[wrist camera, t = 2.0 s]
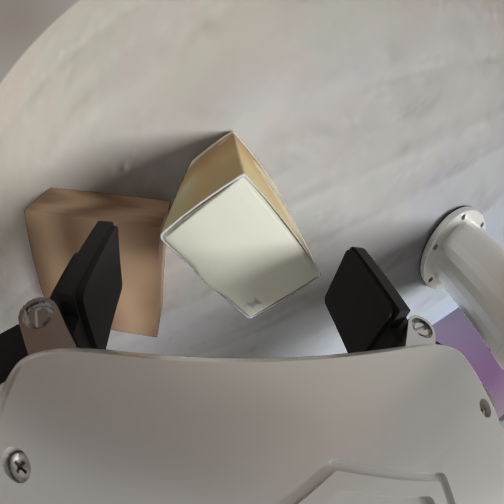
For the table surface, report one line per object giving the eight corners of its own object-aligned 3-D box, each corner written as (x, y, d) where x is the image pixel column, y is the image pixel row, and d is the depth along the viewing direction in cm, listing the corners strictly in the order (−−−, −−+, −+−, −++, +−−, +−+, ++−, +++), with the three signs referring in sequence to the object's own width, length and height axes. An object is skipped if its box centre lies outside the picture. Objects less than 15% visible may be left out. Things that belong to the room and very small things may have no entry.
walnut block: (170, 199, 22) (160, 228, 18) (162, 301, 28) (157, 337, 24) (52, 186, 19) (24, 210, 15) (66, 285, 26) (50, 316, 22)
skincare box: (277, 186, 22) (328, 280, 12) (235, 215, 23) (252, 325, 13) (230, 125, 19) (246, 169, 9) (186, 159, 20) (155, 240, 10)
